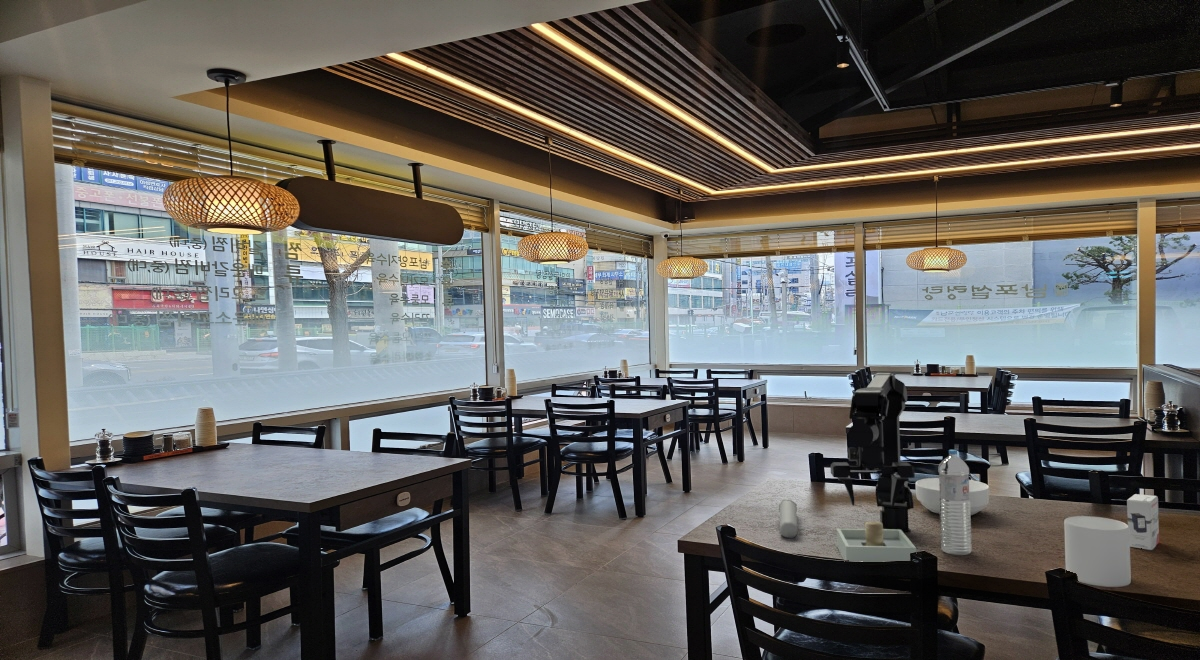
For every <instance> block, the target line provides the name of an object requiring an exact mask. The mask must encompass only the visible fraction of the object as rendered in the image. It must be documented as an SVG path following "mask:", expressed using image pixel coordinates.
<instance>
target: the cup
mask: <svg viewBox="0 0 1200 660" xmlns="http://www.w3.org/2000/svg"><path fill="white" fill-rule="evenodd" d="M1063 521H1064V524H1063V526H1064V527H1063V528H1064V556H1065V557H1064V559H1065V561H1064V562H1065V571H1066V570H1067V571H1070V572H1073V573H1076V574H1077V576H1078V581H1079V582H1078V581H1077V582H1078V583H1083V584H1085V585H1091V586H1095V587H1103V588H1104V587H1106V588H1119V587H1126V586H1129V585H1130V584H1131V581H1132V578H1131V575H1132V572H1131V570H1132V569H1131V547H1130V538H1129V526H1128V523H1125V522H1123V521H1121V520H1118V519H1117V520H1116V519H1112V518H1107V517H1101V516H1091V515H1089V516H1088V515H1076V516H1068V517H1066V518H1065V519H1064V520H1063Z"/></svg>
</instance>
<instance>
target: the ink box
mask: <svg viewBox="0 0 1200 660" xmlns="http://www.w3.org/2000/svg"><path fill="white" fill-rule="evenodd" d="M1126 511H1127V525H1128V526H1129V538H1130V548H1135V549H1136V548H1137V549H1141V548H1142V550H1148V551H1153V550H1154V549H1155V548H1156V547H1157V545H1159V543H1160V531H1159V527H1160V525H1159V523H1160V521H1159V520H1160V519H1159V498H1158V496H1157V495H1147V494H1139V493H1138V494H1137V493H1135V494H1133V495H1132V496H1130V497H1129V498H1128V499H1127V500H1126Z"/></svg>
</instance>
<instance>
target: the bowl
mask: <svg viewBox="0 0 1200 660" xmlns="http://www.w3.org/2000/svg"><path fill="white" fill-rule="evenodd" d="M915 494H916V495H915V496H916V499H917V500H918V501H919V502H920V504H921V505H922V506H923V507H924V508H926V509H928V510H929V512H933V513H935V514H938V515H940V504H939V502H940V501H939V498H940V488H939V477H930V478H928V477H927V478H922V479H918V480H917V481H915ZM989 499H990V486H989V485H988V484H987V483H984V482H981V481H978V480H972V479H969V500H970V516H973V515H975V514H977V513H979V512H980V511H982V510H984V508H985V507H986V506H987V505H988V504H989V502H990V500H989Z"/></svg>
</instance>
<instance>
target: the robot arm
mask: <svg viewBox="0 0 1200 660" xmlns="http://www.w3.org/2000/svg"><path fill="white" fill-rule="evenodd" d="M907 402H908V391H907V388H906V384H905V383H904V382H903V381H901V380H899V379H898V378H896V375H895V374H894V373H892V372H877V373H874V374H873V377H872V380H871V381H870V383H869V384H868V385H867V386H866V387H863V388H862V387H861V388H858V389H856V390H855V392H854V394H852V396H851V403H850V411H849V420H855V423H854V424H852V425H851V426H850V428H848V432H847V435H848V436H847V437H848V439H849V442H850V443H851V444H852V445H854V446H855V447H848V449H847V451H848V453H847V454H848V461H849V462H856V465H850V464H849V463H848V462H847V461H846V462H845V461H843V462H841V461H840V462H838V461H837V462H835V461H833V462H832V463H831V464H830V474H831V475H832V478H837V479H838V481H839V482H842V483H843V485H844V486H845V489H846V491H847V494H848V497H849V500H850V502H851V505H852V506H855V494H854V487H853V485H854V484H853V479H852V477H851V476H850V475H852V474H854V475H855V474H857V475H860V474H869V475H870V474H871V475H875V474H876V475H877V474H878V475H880V476H879V477H878V478H877V483H876V486H875V499H876V506H877V507H881V510H879V522H880V523H882V524H883V529H899V530H902V532H903V533H904V532H911V528H910V527H909V510H911V509H914V507H915V506H914V505H915V503H914V497H913V493H912V491H911V489H910V487H909V486H908V485H909V484H908V482H909V481H910V479H912V478H915V475H916V473H915V467H914V466H913V465H911V464H910V463H909V462H907V461H906V462H904V461H901V440H900V439H901V436H900V435H901V434H900V431H901V430H900V417H901V414H902V413H903V412H904V410H905V408H906V403H907ZM857 448H858V449H857Z"/></svg>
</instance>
